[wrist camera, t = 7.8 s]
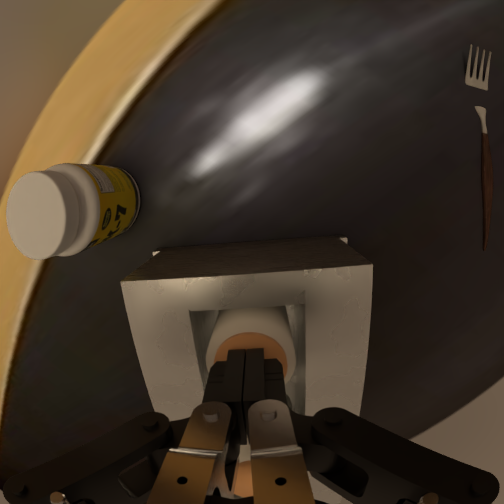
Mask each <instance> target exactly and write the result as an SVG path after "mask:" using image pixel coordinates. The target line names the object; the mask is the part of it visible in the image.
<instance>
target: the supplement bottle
mask: <svg viewBox="0 0 504 504" xmlns="http://www.w3.org/2000/svg"><path fill="white" fill-rule="evenodd" d="M139 208H140V193H139V189H138V186H137V184H136V182H135V180H134V179H133V178H132V176H131V175H130V174H129V173H128V172H126V171H125V170H123V169H121V168H119V167H115V166H105V165H89V164H71V163H64V164H58V165H54V166H52V167H50V168H48V169H46V170H45V171H34V172H30V173H27V174H25V175H23V176H22V177H21V178H20V179H19V180H18V181H17V182H16V183H15V184H14V186H13V188H12V190H11V192H10V195H9V198H8V202H7V209H6V217H7V226H8V230H9V233H10V236H11V238H12V241H13V242H14V244H15V246H16V247H17V248H18V250H19V251H20V252H21V253H22V254H24V255H25V256H27V257H28V258H31V259H35V260H43V259H46V258H49V257H52V256H70V255H74V254H77V253H80V252H82V251H84V250H86V249H88V248H90V247H93V246H95V245H97V244H100V243H102V242H104V241H106V240H109V239H111V238H113V237H116V236H118V235H120V234H122V233H124V232H125V231H126V230H128V229H129V228H130V227H131V225H132V224H133V223H134V221H135V219H136V217H137V215H138V212H139Z"/></svg>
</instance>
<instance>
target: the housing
mask: <svg viewBox="0 0 504 504" xmlns="http://www.w3.org/2000/svg"><path fill="white" fill-rule="evenodd" d="M372 280H373V264H372V263H371V262H369V261H368V260H367V259H366V258H364V257H363V256H362V255H360V254H359V253H358V252H357V251H355V250H354V249H353V248H351V247H350V246H349V245H347V237H345V236H344V235H333V236H318V237H304V238H290V239H276V240H262V241H248V242H235V243H221V244H208V245H196V246H183V247H170V248H158V249H156V250H155V251H153V257H152V258H150V259H149V260H148V261H146V262H145V263H144V264H143V265H141V266H140V267H139V268H137V269H136V270H135V271H133V272H132V273H131V274H130V275H128V276H127V277H126V278H124V279H123V280H122V281H121V287H122V292H123V297H124V301H125V306H126V310H127V315H128V319H129V323H130V328H131V332H132V336H133V340H134V343H135V347H136V351H137V355H138V358H139V362H140V365H141V369H142V372H143V376H144V379H145V382H146V386H147V389H148V392H149V395H150V398H151V401H152V404H153V407H154V410H155V412H159V413H162V414H164V415H166V416H167V417H168V418H169V421H175V420H180V419H185V418H188V417H190V416H191V414H192V412H193V410H194V409H195V408H196V407H197V406H198V405H200V404H202V400H203V396H204V392H205V388H206V383H207V379H208V375H209V372H208V370H207V366H206V353H207V349H208V346H209V342H210V339H211V336H212V332H213V329H214V326H215V322H216V319H217V316H218V313H219V310H226V309H243V308H259V307H274V306H286V309H287V314H288V319H289V324H290V330H291V335H292V340H293V345H294V350H295V356H296V366H295V370H294V372H293V375H292V376H291V378H290V379H289V381H288V382H287V383H286V384H285V391H286V394H287V395H288V396H289V398H290V400H291V403H292V410H293V411H294V412H295V413H298V414H301V415H306V416H314V414H315V413H316V412H318V411H319V410H321V409H324V408H328V407H339V408H343V409H345V410H348V411H349V412H351V413H353V414H355V415H357V416H359V413H360V407H361V400H362V394H363V386H364V379H365V371H366V362H367V353H368V343H369V331H370V318H371V302H372ZM307 472H308V476H309V480H310V484H311V488H312V492H313V496H314V499H315V500H319V501H323V502H326V503H329V504H340V502H341V498H342V496H340V495H339V494H337V493H336V492H334V491H333V490H331V489H330V488H328V487H327V486H325V485H324V484H322V483H321V482H319V481H318V480H316V479H315V478H313V477H312V476H311V474H310V473H309V471H307ZM239 498H244V497H241V496H238V495H236V494H234V496H233V499H239Z"/></svg>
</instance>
